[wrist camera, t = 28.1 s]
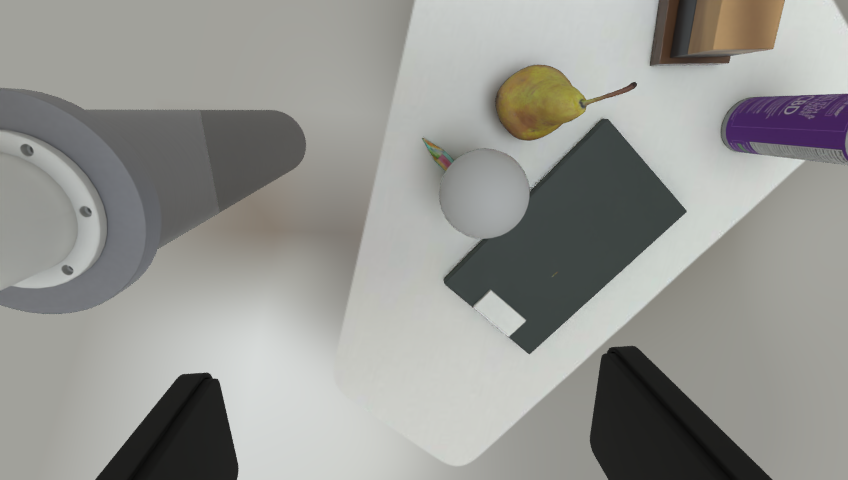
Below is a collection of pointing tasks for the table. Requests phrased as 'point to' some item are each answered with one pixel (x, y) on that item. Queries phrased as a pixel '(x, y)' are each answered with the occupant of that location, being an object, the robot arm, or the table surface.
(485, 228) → the lightbulb
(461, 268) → the board
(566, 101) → the fruit
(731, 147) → the container
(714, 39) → the eraser
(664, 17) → the eraser rest
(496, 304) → the white rectangular block
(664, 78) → the table surface
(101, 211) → the robot arm
